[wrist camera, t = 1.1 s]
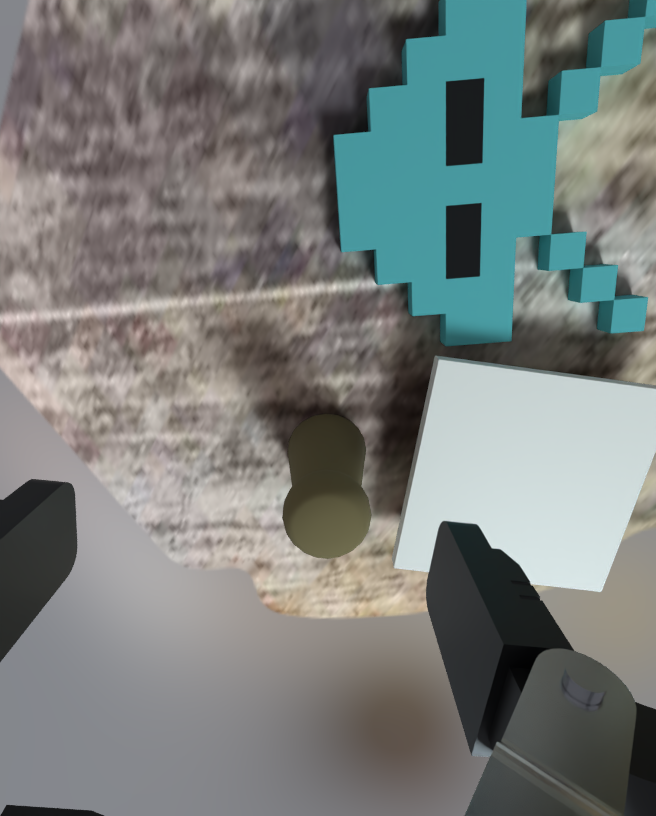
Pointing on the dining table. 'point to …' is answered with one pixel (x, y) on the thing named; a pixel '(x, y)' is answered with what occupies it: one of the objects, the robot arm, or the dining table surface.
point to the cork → (326, 487)
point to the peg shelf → (529, 467)
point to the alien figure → (476, 171)
